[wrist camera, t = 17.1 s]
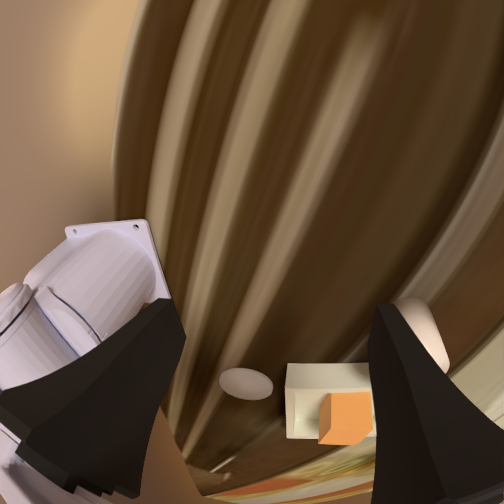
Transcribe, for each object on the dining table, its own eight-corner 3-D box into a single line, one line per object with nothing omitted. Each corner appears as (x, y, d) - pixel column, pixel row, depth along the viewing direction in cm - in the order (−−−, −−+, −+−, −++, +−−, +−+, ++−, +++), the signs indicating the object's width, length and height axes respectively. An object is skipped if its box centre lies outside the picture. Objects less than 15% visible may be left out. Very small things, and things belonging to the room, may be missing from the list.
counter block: (320, 406, 29) (318, 443, 25) (331, 387, 27) (330, 428, 23) (355, 409, 29) (356, 445, 25) (369, 390, 27) (373, 429, 22)
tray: (289, 418, 33) (286, 438, 30) (287, 363, 27) (284, 388, 24) (382, 416, 30) (384, 435, 28) (410, 359, 24) (416, 382, 22)
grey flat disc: (226, 392, 32) (224, 397, 31) (215, 363, 29) (213, 369, 28) (275, 395, 31) (274, 401, 30) (271, 366, 28) (270, 373, 27)
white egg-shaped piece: (372, 340, 24) (380, 396, 18) (381, 298, 21) (396, 356, 16) (421, 337, 23) (436, 389, 17) (435, 295, 20) (459, 349, 15)
